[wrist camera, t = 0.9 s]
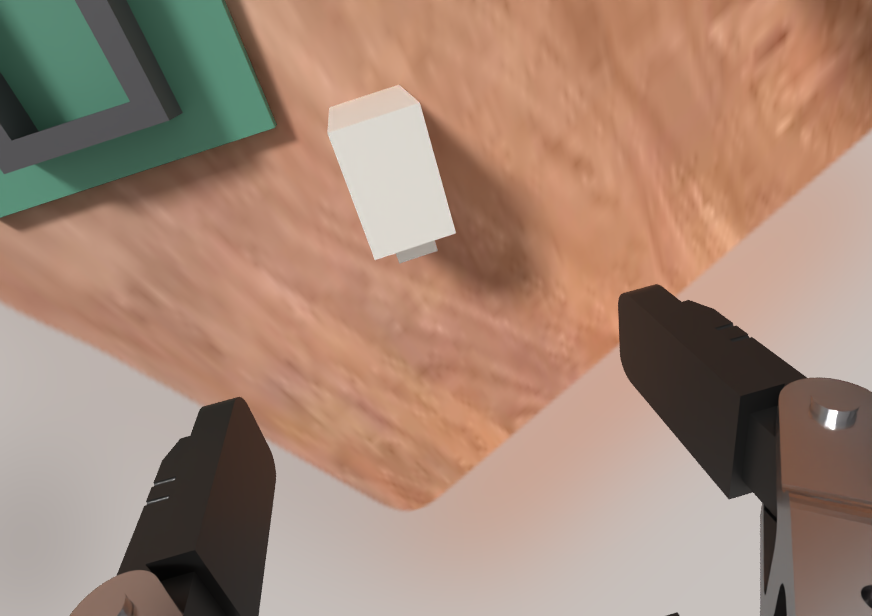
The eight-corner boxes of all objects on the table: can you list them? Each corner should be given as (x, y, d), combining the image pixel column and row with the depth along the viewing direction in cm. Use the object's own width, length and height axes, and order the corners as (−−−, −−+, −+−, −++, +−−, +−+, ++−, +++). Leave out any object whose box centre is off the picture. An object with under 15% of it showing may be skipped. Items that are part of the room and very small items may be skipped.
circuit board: (105, -285, 20) (65, -339, 17) (276, 124, 28) (269, 136, 25) (-291, -161, 20) (-402, -194, 17) (-7, 217, 28) (-48, 240, 25)
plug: (398, 84, 29) (419, 102, 22) (433, 203, 32) (461, 251, 25) (329, 107, 28) (327, 132, 22) (371, 223, 32) (381, 278, 25)
